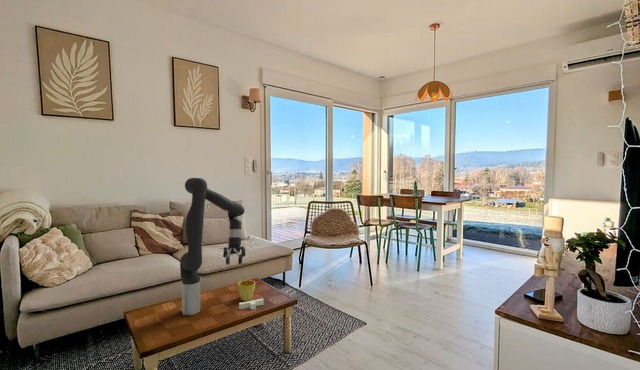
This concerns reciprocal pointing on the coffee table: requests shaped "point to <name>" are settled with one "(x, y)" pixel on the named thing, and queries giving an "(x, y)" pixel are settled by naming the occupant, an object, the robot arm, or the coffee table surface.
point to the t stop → (251, 304)
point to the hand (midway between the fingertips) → (233, 264)
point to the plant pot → (246, 289)
